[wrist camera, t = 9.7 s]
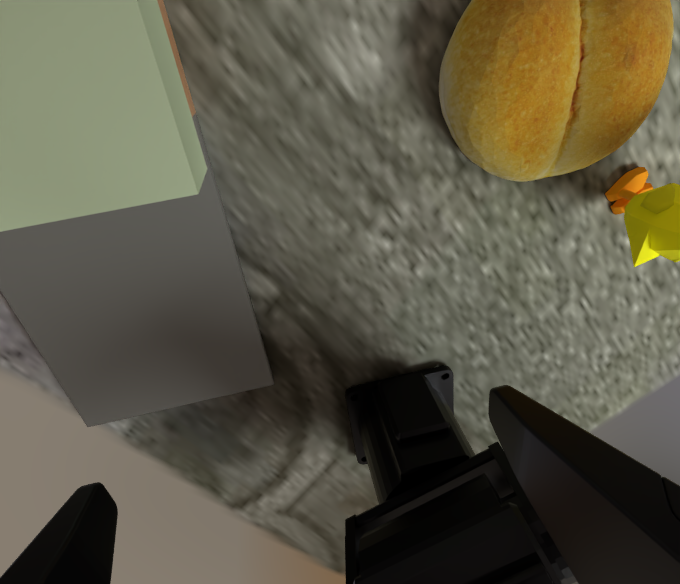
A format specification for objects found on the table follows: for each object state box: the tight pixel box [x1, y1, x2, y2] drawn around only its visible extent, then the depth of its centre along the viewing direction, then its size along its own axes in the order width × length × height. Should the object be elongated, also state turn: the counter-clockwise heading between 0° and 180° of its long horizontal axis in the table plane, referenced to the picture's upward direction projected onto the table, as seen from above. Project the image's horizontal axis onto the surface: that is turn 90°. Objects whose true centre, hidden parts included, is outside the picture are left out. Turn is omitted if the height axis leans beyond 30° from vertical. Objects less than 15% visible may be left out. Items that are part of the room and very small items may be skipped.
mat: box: [0, 113, 274, 427], centre depth 20 cm, size 14×10×1 cm
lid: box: [0, 0, 207, 232], centre depth 11 cm, size 10×6×3 cm, turn 8°
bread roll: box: [439, 0, 674, 182], centre depth 17 cm, size 8×9×4 cm
